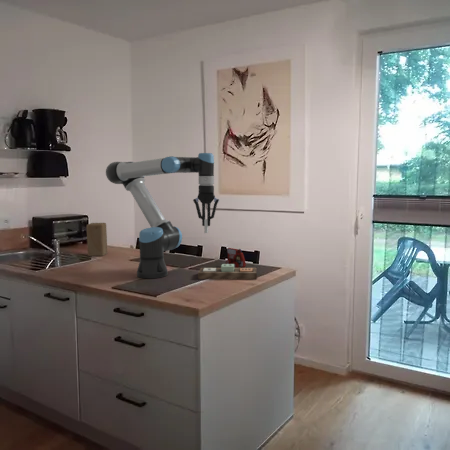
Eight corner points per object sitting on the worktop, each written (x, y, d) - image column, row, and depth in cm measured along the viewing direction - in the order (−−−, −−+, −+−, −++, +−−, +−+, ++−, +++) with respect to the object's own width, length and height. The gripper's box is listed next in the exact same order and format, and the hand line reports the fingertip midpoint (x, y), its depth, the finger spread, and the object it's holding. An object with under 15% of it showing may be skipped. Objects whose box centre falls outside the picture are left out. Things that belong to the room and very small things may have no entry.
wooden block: (103, 256, 279) (102, 224, 276) (87, 256, 279) (85, 224, 276) (107, 253, 289) (106, 222, 286) (92, 253, 289) (90, 222, 286)
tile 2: (221, 273, 217) (221, 266, 217) (222, 270, 223) (222, 263, 223) (233, 273, 217) (233, 266, 216) (234, 270, 223) (234, 263, 222)
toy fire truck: (239, 270, 233) (239, 250, 232) (223, 267, 242) (223, 248, 241) (248, 268, 237) (248, 249, 236) (232, 265, 247) (232, 246, 245)
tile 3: (239, 277, 217) (239, 270, 216) (240, 274, 223) (240, 267, 222) (252, 277, 216) (252, 270, 216) (252, 274, 222) (252, 267, 222)
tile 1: (202, 277, 218) (202, 270, 218) (204, 274, 224) (204, 267, 224) (215, 277, 218) (215, 270, 217) (216, 274, 223) (216, 267, 223)
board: (198, 279, 215) (197, 272, 215) (201, 273, 227) (200, 267, 227) (256, 279, 213) (256, 273, 213) (256, 273, 225) (256, 267, 225)
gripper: (191, 185, 217) (192, 233, 220) (218, 185, 215) (218, 233, 218) (194, 184, 224) (194, 231, 227) (220, 184, 223) (220, 231, 226)
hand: (206, 232), depth 223 cm, fingers closed
